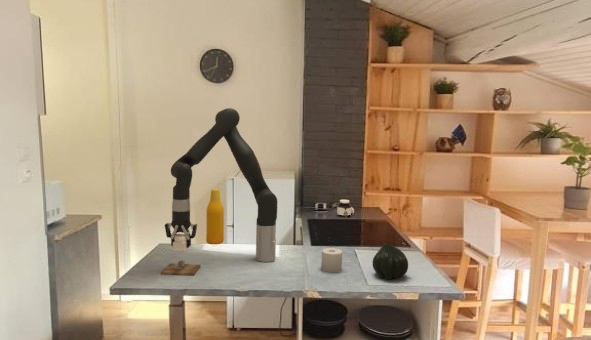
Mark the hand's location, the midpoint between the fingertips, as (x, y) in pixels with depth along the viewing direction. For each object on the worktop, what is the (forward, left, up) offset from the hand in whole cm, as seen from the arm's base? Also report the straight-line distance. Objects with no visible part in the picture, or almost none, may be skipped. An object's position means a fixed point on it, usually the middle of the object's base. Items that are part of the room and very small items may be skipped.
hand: (181, 247), depth 179 cm
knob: (0, 0, -1) cm, 1 cm away
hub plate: (0, 0, -11) cm, 11 cm away
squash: (-91, -2, -11) cm, 92 cm away
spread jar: (-83, -120, -11) cm, 146 cm away
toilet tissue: (-66, -9, -11) cm, 67 cm away
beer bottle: (-5, -44, -11) cm, 45 cm away
